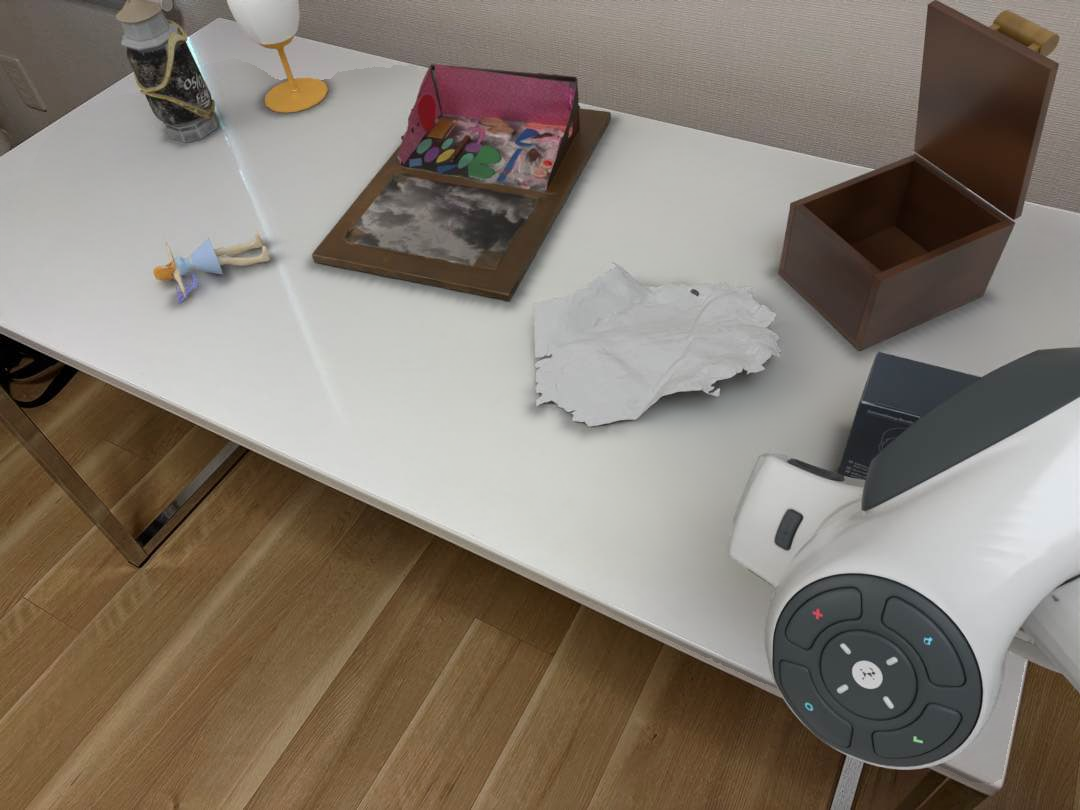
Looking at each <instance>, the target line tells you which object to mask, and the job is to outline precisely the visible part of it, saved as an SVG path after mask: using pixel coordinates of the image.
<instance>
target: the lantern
mask: <svg viewBox="0 0 1080 810" xmlns="http://www.w3.org/2000/svg"><path fill="white" fill-rule="evenodd" d="M162 10H163V6H162V4H161V3H159V2H155V1H150V0H125V3H124V5H123V7H122V8H121V9H120V10H119V11H118V13H117V14H116V15H115V19H116V20H117V21H119V23H120V24H121V27H122V29H123V32H124V34H123V35H122V38H121V42H120V43H121V46H123V47H126V58H127V60H128V62H129V65H130V67H131V68H132V71H133V76H134V80H135V83H136V85H137V86H138V88H139V89H140V90H139V91H140V93H141V94H142V95H144V96H145V98H146V100H147V102H148V104H149V106H150V109H151V111H152V113H153V115H154V116H155V118H156V119H158V120H159V121H161V122H162V124H163V125H164V126H165V129H166V132H167V134H168V136H169V138H171V139H173V140H176V141H179V142H182V143H190V142H195V141H199V140H203V139H204V138H205V137H207V136H208V135H209V134H211V133H212V132H214V131H215V130H216V129H218V121H219V120H218V117H217V115H216V112H215V111H216V101H215V99H213V98H212V94H211V91H210V89H209V88H208V86H207V83H206V81H205V79H204V77H203V74H202V72H201V71H200V68H199V66H198V64H197V62H196V60H195V58H194V56H193V54H192V51H191V50H190V47H189V45H188V42H187V41H188V34H187V33H186V31H185V30H184V28H183V27H182V26H181V25H180V24H178V23H177V22H175V21H174V20H171V19H167V18H166V16H165V14H164V11H162Z"/></svg>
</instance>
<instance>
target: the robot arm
mask: <svg viewBox="0 0 1080 810" xmlns="http://www.w3.org/2000/svg"><path fill="white" fill-rule="evenodd" d="M980 377H981V378H979V379H977V380H976V381H974V382H972V383H970V384H969V385H967V386H965V387H964V388H962V389H961V390H959V391H957V392H956V393H954V394H953V395H951V396H950V397H948V398H947V399H945V400H944V401H942V402H941V403H939V404H938V405H937V406H935V407H934V408H932V409H931V410H930V411H928V412H927V413H926V414H924V415H923V416H922V417H921V418H919V419H918V420H917V421H915V422H914V423H913V424H912V425H911V426H909V427H908V428H907V429H906V430H905V431H903V432H902V433H901V434H900V435H899V436H898V437H896V438H895V439H894V440H893V441H892V442H891V443H889V444H888V445H887V446H886V447H885V448H884V449H883V450H882V451H881V452H880V453H879V454H878V455H877V456H876V457H875V458H874V459H873V460H872V461H871V463H870V467H869V470H868V473H867V477H866V480H861V479H855V478H850V477H846V476H843V475H842V474H839V473H837V472H835V471H831V470H829V469H824V468H822V467H818V466H816V465H813V464H810V463H807V462H805V461H802V460H800V459H797V458H791V457H789V456H786V455H783V454H778V453H773V454H770V453H762V454H759V456H758V457H757V459H756V461H755V464H754V465H753V468H752V470H751V473H750V474H749V477H748V480H747V482H746V484H745V487H744V489H743V491H742V495H741V497H740V499H739V502H738V505H737V507H736V511H735V512H734V516H733V519H732V525H733V530H732V533H731V537H730V541H729V545H728V548H727V553H728V555H729V557H730V558H731V559H732V560H734V561H735V562H736V563H738V564H739V565H740V566H742V567H744V568H745V569H746V570H748V571H750V573H752V574H754V575H755V576H756V577H758V578H759V579H761V580H763V581H764V582H766V584H768V585H770V586H771V587H772V588H774V592H773V593H772V597H771V600H770V603H769V606H768V609H767V614H766V617H765V618H766V619H765V625H764V626H765V627H764V648H765V654H766V659H767V664H768V667H769V671H770V673H771V677H772V680H773V683H774V684H775V687H776V688H777V690H778V693H779V695H780V696H781V698H782V700H783V701H784V703H785V704H786V705H787V707H788V708H789V710H790V711H791V712H792V714H793V715H794V716H795V717H796V718H797V720H799V722H800V723H801V724H802V725H803V726H804V727H806V728H807V729H808V731H810V732H811V734H813V735H814V737H816V738H817V739H818V740H820V741H821V742H823V743H824V744H826V745H827V746H829V747H831V748H832V749H834V750H835V751H837V752H839V753H841V754H843V755H845V756H847V757H849V758H852V759H854V760H856V761H859V762H862V763H865V764H867V765H871V766H874V767H878V768H879V767H880V768H884V769H889V770H899V771H900V770H901V771H903V770H904V771H906V770H907V771H911V770H921V769H926V768H927V769H928V768H931V767H934V766H937V765H941V764H943V763H945V762H948V761H950V760H951V759H953V758H954V757H957V756H958V755H959V754H961V753H962V752H963V751H964V750H965V749H966V748H968V747H969V746H970V745H971V744H972V743H973V742H974V741H975V740H976V738H978V737H979V735H980V734H981V732H982V731H983V729H984V727H985V726H986V724H987V723H988V722H989V719H990V717H991V715H992V713H993V711H994V709H995V707H996V705H997V701H998V699H999V696H1000V692H1001V689H1002V686H1003V680H1004V674H1005V668H1006V659H1007V653H1008V652H1009V653H1012V654H1014V655H1016V656H1019V657H1020V658H1022V659H1025V660H1027V661H1029V662H1031V663H1034V664H1035V665H1037V666H1040V667H1043V668H1045V669H1047V670H1050V671H1051V672H1054V673H1058V674H1060V675H1063V677H1064V678H1065V679H1066V680H1067V681H1068V682H1069V684H1071V686H1072V687H1073V688H1074V689H1075V690H1076V691H1077V693H1078V694H1079V695H1080V346H1073V347H1057V348H1055V347H1054V348H1044V349H1037V350H1034V351H1031V352H1029V353H1027V354H1025V355H1023V356H1021V357H1019V358H1016V359H1015V360H1012V361H1010V362H1008V363H1006V364H1004V365H1001V366H1000V367H998V368H996V369H994V370H992V371H990V372H988V373H985V374H984V375H983V376H980Z"/></svg>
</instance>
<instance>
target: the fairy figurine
mask: <svg viewBox="0 0 1080 810" xmlns="http://www.w3.org/2000/svg"><path fill="white" fill-rule="evenodd" d="M163 241H164V245H165V247H166V250H167V255H168V258H169V260H170V262H169V263H167V264H166V265H158V266H155V267H154V268H153V269H152V270H153V276H154V278H155V279H156V280H158V281H162V282H167V281H172V280H174V281H176V282H175V289H176V290H175V291H176V294H177V295H176V296H177V301H178V304H181V303H182V302H183V301H184V300H185V299H187V298H188V297H187V296H188V294H189V293H190V292H191V291H192V290H194V289H196V288H197V287H198V284H199V282H198V278H197V276H196V274H195V273H193V272H189V271H190V270H191V269H195V270H198V271H200V272H206V273H211V274H217V275H221V276H222V275H224V273H223V270H222V268H221V266H223V265H232V266H237V267H238V266H239V267H246V266H251V265H255V264H259V263H260V264H261V263H268V262H270V261H271V259H270V255H269V252H268V249H267V247H266V245H263V242H262V239H261V236H260V233H259V231H258V230H256V231H255V232H254V240H253V241H251V242H249V243H243V244H241V243H240V244H235V245H232V246H228V247H219V248H214V246H213V244H212V242H211V239H210V237H207V239H205V241H203V242H202V244H200V245H199V247H197V248H196V249H195V250H194V251H193V252H192V253H191V254H190V255H189V256H186V257H184V258H183V256H179V255H178V256H176V257H174V255H173V253H172V251H171V249H170V247H169V245H168V243H167V241H166V239H165V237H163ZM259 248H261V254H260V255H259V256H255V257H236V256H237V255H240V254H243V253H245V252H247V251H249V250H253V249H259ZM224 255H226V256H224ZM220 256H221V257H220ZM223 256H224V257H223ZM230 256H235V257H230ZM188 274H191V276H192V277H190V278H192V279H193V280H194V281H192V280H191V279H189V277H186V276H185V275H188ZM184 276H185V278H187V281H185V280H184V278H183V277H184ZM192 282H193V283H192ZM189 283H192V286H191V285H187V284H189ZM177 284H178V285H179V288H180V290H178V286H177ZM180 291H181V292H182V293H181V292H180Z"/></svg>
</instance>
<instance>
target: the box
mask: <svg viewBox="0 0 1080 810" xmlns="http://www.w3.org/2000/svg"><path fill="white" fill-rule="evenodd" d="M981 377H982V376H978V375H973V374H972V373H971V374H970V373H966V372H962V371H958V370H954V369H950V368H947V367H942V366H938V365H934V364H931V363H926V362H923V361H919V360H914V359H910V358H907V357H902V356H898V355H894V354H890V353H886V352H882V351H877V352H876V354H875V356H874V359H873V362H872V365H871V367H870V370H869V372H868V376H867V378H866V381H865V384H864V388H863V390H862V394H861V396H860V399H859V402H858V405H857V408H856V411H855V414H854V418H853V421H852V424H851V427H850V431H849V434H848V437H847V440H846V443H845V446H844V450H843V453H842V457H841V460H840V462H839V466H838V469H837V472H836V473H839V474H842V475H843V476H846V477H850V478H855V479H861V480H866V477H867V473H868V470H869V467H870V463H871V461H872V460H873V459H874V458H875V457H876V456H877V455H878V454H879V453H880V452H881V451H882V450H883V449H884V448H885V447H886V446H887V445H888V444H889V443H891V442H892V441H893V440H894V439H895V438H896V437H898V436H899V435H900V434H901V433H902V432H903V431H905V430H906V429H907V428H908V427H909V426H911V425H912V424H913V423H914V422H915V421H917V420H918V419H919V418H921V417H922V416H923V415H924V414H926V413H927V412H928V411H930V410H931V409H932V408H934V407H935V406H937V405H938V404H939V403H941V402H942V401H944V400H945V399H947V398H948V397H950V396H951V395H953V394H954V393H956V392H957V391H959V390H961V389H962V388H964V387H965V386H967V385H969V384H970V383H972V382H974V381H976V380H977V379H979V378H981Z"/></svg>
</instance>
